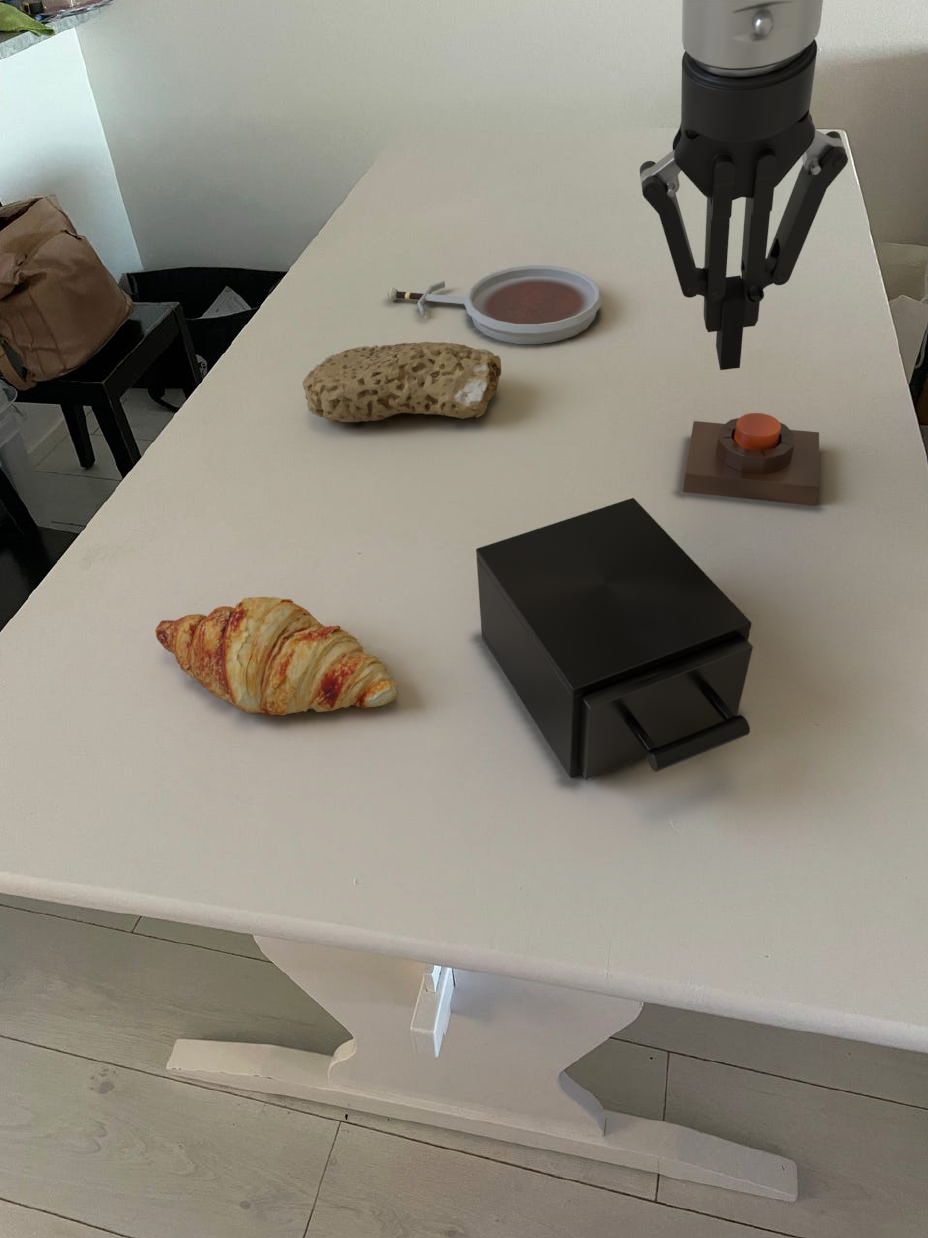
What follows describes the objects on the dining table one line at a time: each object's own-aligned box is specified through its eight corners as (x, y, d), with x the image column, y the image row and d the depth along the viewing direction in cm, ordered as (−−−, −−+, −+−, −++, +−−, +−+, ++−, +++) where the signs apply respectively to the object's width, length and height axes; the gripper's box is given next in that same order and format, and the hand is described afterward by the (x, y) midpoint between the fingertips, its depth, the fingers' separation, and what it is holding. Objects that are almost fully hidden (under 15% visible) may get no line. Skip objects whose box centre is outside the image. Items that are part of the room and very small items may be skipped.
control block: (814, 450, 92) (823, 416, 89) (814, 506, 86) (823, 470, 83) (691, 439, 94) (695, 405, 92) (682, 492, 88) (687, 457, 86)
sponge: (500, 391, 105) (334, 346, 107) (509, 337, 99) (332, 290, 100) (469, 474, 98) (292, 425, 100) (477, 422, 92) (287, 370, 93)
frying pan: (408, 254, 125) (615, 266, 117) (411, 275, 127) (614, 288, 119) (361, 313, 113) (586, 330, 106) (364, 335, 115) (585, 353, 108)
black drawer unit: (732, 713, 69) (752, 622, 62) (570, 778, 66) (573, 690, 59) (625, 586, 80) (633, 497, 73) (481, 637, 76) (475, 548, 70)
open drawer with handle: (771, 762, 65) (792, 689, 59) (616, 827, 62) (623, 757, 56) (634, 597, 77) (641, 524, 72) (499, 645, 74) (495, 573, 69)
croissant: (416, 707, 76) (426, 615, 73) (368, 757, 67) (377, 654, 64) (190, 653, 81) (192, 565, 79) (117, 692, 72) (116, 595, 69)
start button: (778, 430, 88) (781, 414, 87) (777, 454, 86) (780, 438, 84) (735, 426, 89) (737, 410, 88) (732, 449, 87) (735, 434, 85)
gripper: (638, 98, 52) (647, 401, 72) (883, 56, 50) (823, 380, 69) (629, 30, 56) (639, 335, 76) (855, -11, 54) (806, 313, 73)
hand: (727, 356), depth 73 cm, fingers closed
